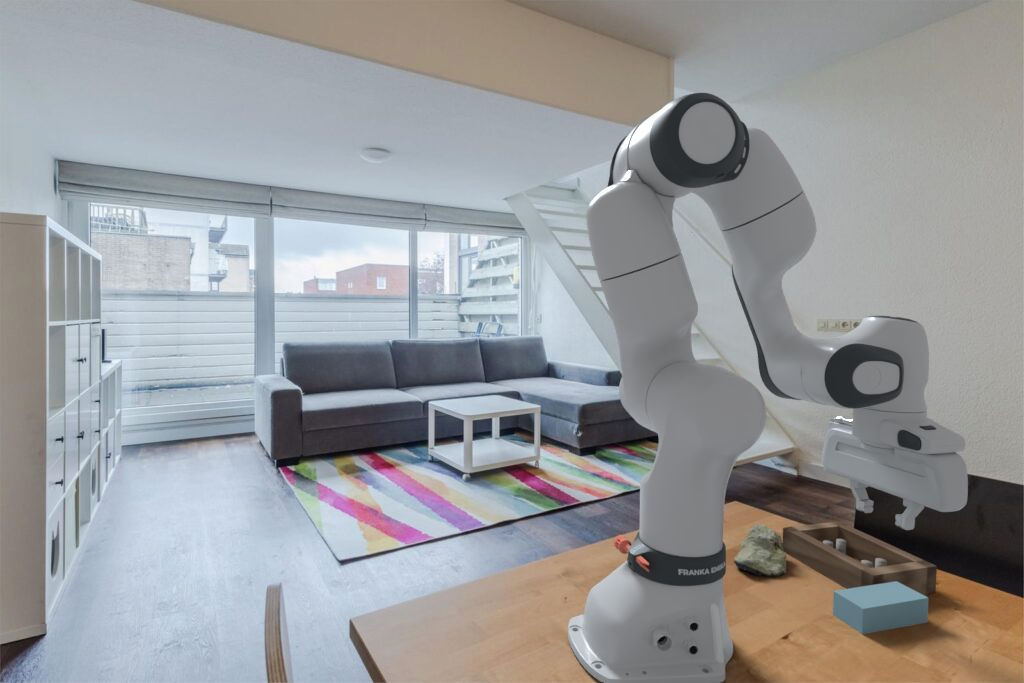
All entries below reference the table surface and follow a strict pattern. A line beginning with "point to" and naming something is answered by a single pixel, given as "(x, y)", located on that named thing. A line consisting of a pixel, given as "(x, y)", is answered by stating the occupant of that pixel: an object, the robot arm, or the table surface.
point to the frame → (857, 557)
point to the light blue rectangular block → (880, 607)
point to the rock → (762, 552)
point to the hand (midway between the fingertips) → (883, 519)
